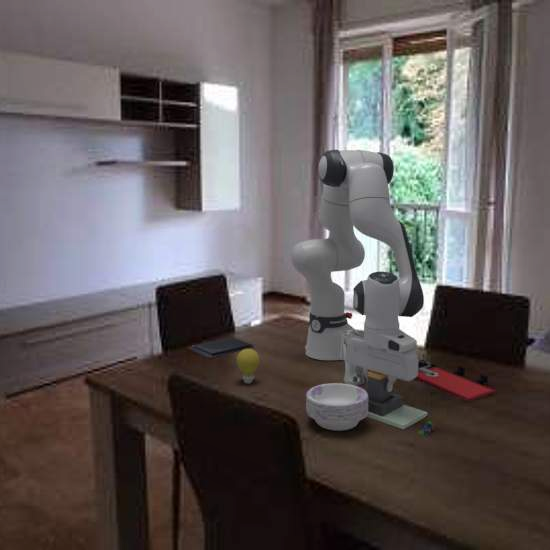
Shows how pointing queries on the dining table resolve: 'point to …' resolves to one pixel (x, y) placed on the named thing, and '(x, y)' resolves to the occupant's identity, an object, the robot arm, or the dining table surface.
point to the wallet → (220, 347)
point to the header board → (395, 412)
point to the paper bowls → (337, 405)
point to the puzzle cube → (426, 428)
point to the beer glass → (352, 372)
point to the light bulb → (248, 363)
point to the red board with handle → (452, 381)
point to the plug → (377, 387)
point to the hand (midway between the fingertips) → (379, 388)
